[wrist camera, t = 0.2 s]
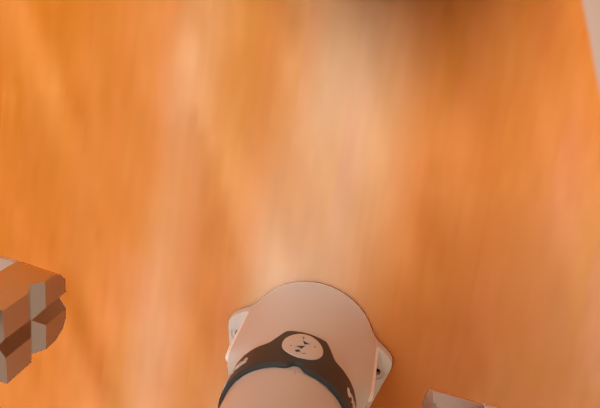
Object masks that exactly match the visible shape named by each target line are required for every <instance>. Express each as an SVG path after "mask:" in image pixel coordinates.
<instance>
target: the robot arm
mask: <svg viewBox="0 0 600 408" xmlns="http://www.w3.org/2000/svg"><path fill="white" fill-rule="evenodd" d="M65 292H66V285H65V278H63V277H62V276H61V275H60V274H57V273H54V272H51V271H48V270H45V269H42V268H39V267H36V266H33V265H30V264H27V263H24V262H19V261H17V260H14V259H11V258H7V257H4V256H0V382H4V383H8V382H10V381H11V380H12V379H13V378H14V377H15V376H16V375H17V374H19V373H20V372H21V371H22V370H23V369H24V368H25V367H27V366H28V365H29V364H30V363H31V359H32V354H33V353H36V352H39V351H42V350H45V349H47V348H48V347H49V346H50V345H51V344H52V343H53V342H54V341H55V340H56V339H57V337H58V336H59V334H60V332H61V331H62V329H63V326H64V322H65V319H66V308H65V306H64V305H63V303H62V301H61V300H60V297H61V296H62V295H63V294H64V293H65ZM228 325H229V349H228V351H227V353H226V357H225V360H226V361H227V362H228V378H227V380H226V382H225V385H224V387H223V390H222V394H221V397H220V400H219V405H218V408H370V406H371V404H372V402H373V400H374V399H375V397H376V395H377V393H378V391H379V390H380V388H381V386H382V384H383V382H384V381H385V379H386V377H387V375H388V373H389V372H390V370H391V367H392V362H393V359H392V356H391V354H390V353H389V351H388V350H387V349H386V348H385V347H384V346H383V345H382V344H381V343H380V342H379V341H378V340H377V339H376V337H375V335H374V333H373V330H372V328H371V325H370V323H369V321H368V319H367V317H366V315H365V314H364V312H363V311H362V310H361V308H360V307H359V306H358V305H357V304H356V303H355V302H354V301H353V300H352V299H351V298H350V297H348V296H347V295H346V294H344V293H343V292H341V291H339V290H337V289H335V288H333V287H330V286H328V285H325V284H321V283H316V282H293V283H289V284H285V285H282V286H280V287H277V288H275V289H274V290H272V291H270V292H269V293H267V294H266V295H265V296H264V297H263V298H262V299H260V300H259V301H258V302H257V303H256V304H254V305H253V306H249V307H246V308H242V309H240V310H237V311H235V312H234V313H233V314H232V315H231V317H230V319H229V324H228ZM377 368H378V369H380V371H376V370H377ZM423 408H498V407H495V406H491V405H488V404H484V403H478V402H475V401H472V400H468V399H465V398H462V397H458V396H455V395H452V394H448V393H445V392H442V391H438V390H435V389H432V388H430V389H429V390H428V392H427V393H426V395H425V398H424V400H423Z"/></svg>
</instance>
